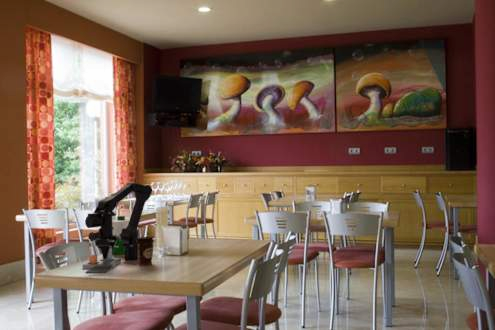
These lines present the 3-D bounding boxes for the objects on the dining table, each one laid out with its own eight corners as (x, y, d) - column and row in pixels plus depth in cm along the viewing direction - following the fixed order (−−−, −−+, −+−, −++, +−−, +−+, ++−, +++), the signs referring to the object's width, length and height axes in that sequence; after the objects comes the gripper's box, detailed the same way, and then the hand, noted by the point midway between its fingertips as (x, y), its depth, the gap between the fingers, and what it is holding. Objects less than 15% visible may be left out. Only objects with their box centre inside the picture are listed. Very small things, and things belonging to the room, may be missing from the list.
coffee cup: (158, 263, 264) (157, 236, 264) (149, 266, 256) (148, 239, 256) (142, 262, 267) (141, 236, 267) (133, 265, 259) (132, 238, 259)
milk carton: (131, 252, 299) (130, 216, 298) (121, 255, 290) (120, 217, 290) (117, 251, 302) (116, 215, 302) (107, 254, 293) (106, 217, 293)
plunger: (98, 263, 259) (97, 254, 259) (96, 265, 256) (95, 256, 256) (90, 264, 259) (90, 254, 259) (88, 265, 256) (88, 256, 256)
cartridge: (113, 262, 268) (113, 245, 268) (111, 264, 263) (110, 247, 263) (103, 263, 268) (103, 245, 268) (100, 265, 263) (100, 247, 263)
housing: (120, 262, 270) (120, 258, 270) (112, 268, 254) (112, 264, 254) (92, 262, 270) (92, 258, 270) (82, 269, 254) (82, 264, 254)
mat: (110, 268, 253) (110, 267, 253) (105, 272, 244) (105, 271, 244) (91, 269, 253) (91, 268, 253) (85, 273, 244) (85, 272, 244)
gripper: (95, 223, 275) (96, 254, 275) (84, 228, 256) (84, 261, 256) (117, 223, 275) (118, 254, 275) (107, 228, 256) (108, 261, 256)
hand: (107, 257), depth 265 cm, fingers open, 7 cm apart
